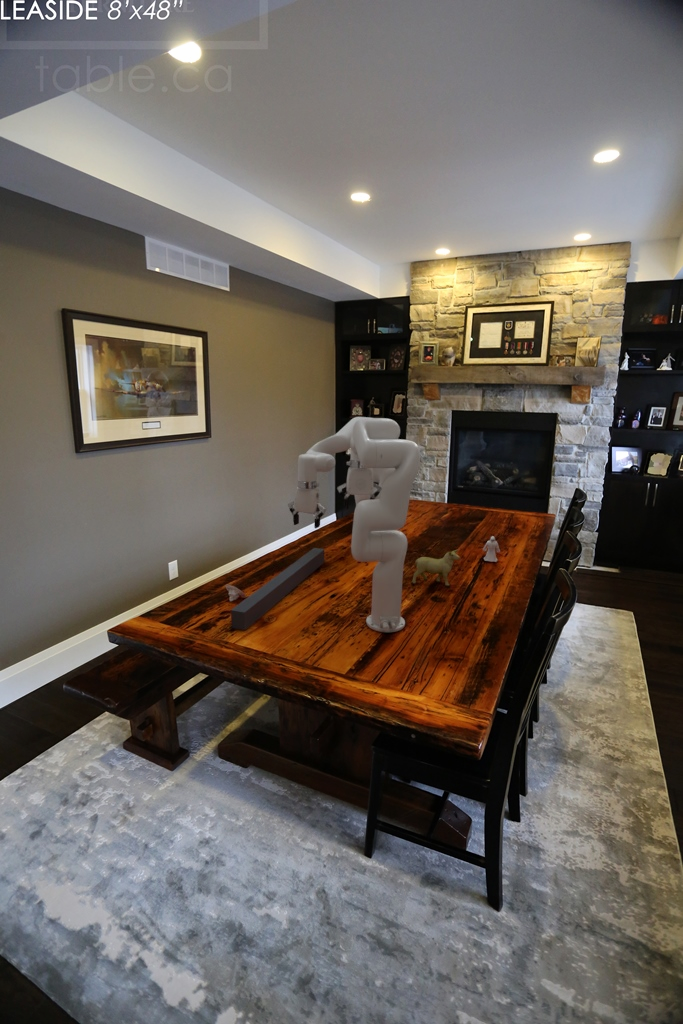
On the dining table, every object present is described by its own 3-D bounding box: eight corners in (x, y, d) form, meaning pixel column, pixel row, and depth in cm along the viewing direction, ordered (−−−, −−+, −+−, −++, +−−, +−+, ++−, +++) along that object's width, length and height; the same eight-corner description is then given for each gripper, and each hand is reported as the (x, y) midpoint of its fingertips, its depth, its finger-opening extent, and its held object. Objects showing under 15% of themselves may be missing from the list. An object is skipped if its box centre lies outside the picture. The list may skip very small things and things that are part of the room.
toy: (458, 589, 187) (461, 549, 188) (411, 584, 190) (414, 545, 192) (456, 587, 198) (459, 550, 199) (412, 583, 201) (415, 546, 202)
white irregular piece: (231, 609, 179) (216, 592, 179) (241, 599, 183) (227, 583, 182) (239, 604, 173) (224, 587, 172) (250, 595, 177) (235, 577, 176)
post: (244, 630, 157) (244, 612, 155) (231, 627, 158) (230, 609, 157) (324, 562, 219) (324, 549, 217) (314, 560, 220) (314, 547, 219)
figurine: (481, 562, 222) (483, 536, 219) (482, 556, 230) (484, 531, 227) (499, 564, 220) (501, 538, 217) (499, 558, 228) (501, 533, 225)
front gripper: (338, 466, 186) (338, 510, 190) (384, 466, 188) (382, 510, 192) (336, 463, 193) (335, 506, 197) (380, 463, 195) (378, 505, 199)
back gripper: (330, 485, 202) (329, 526, 206) (293, 481, 209) (292, 521, 213) (322, 488, 195) (321, 530, 199) (283, 484, 202) (283, 525, 206)
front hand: (359, 508), depth 195 cm, fingers open, 9 cm apart
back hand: (306, 525), depth 206 cm, fingers open, 9 cm apart
